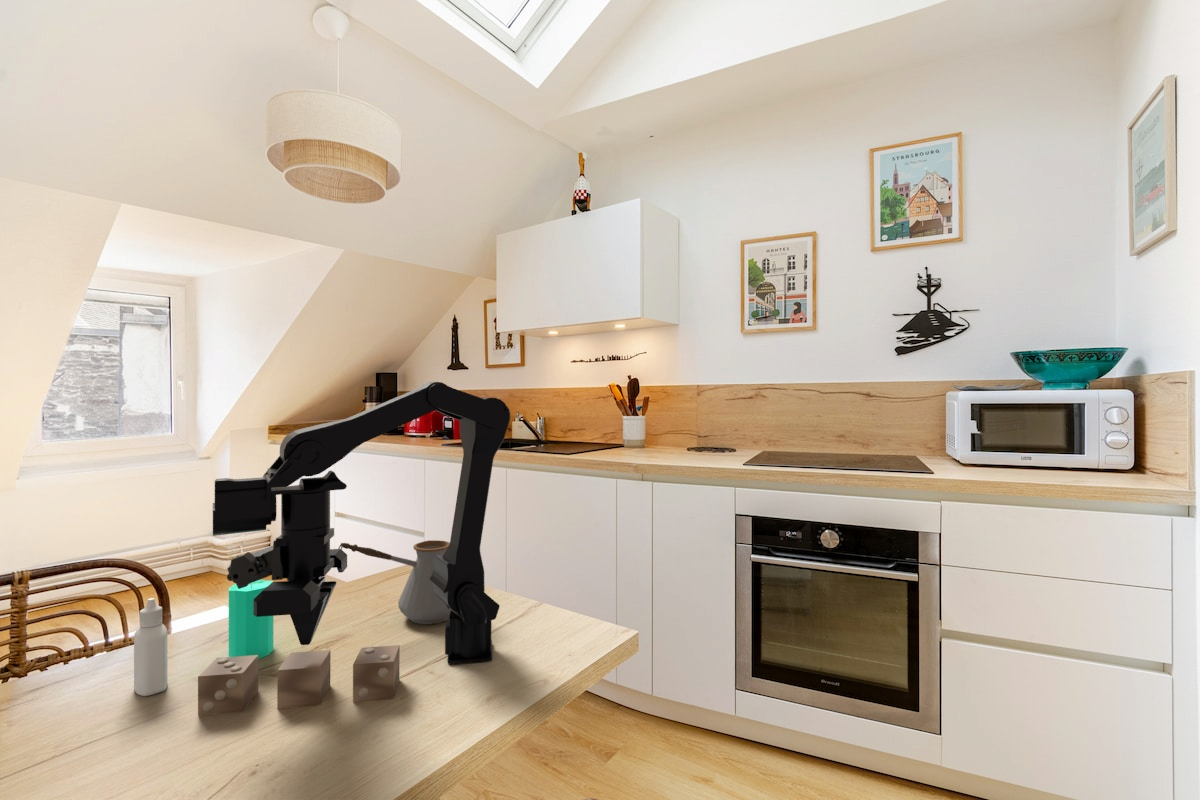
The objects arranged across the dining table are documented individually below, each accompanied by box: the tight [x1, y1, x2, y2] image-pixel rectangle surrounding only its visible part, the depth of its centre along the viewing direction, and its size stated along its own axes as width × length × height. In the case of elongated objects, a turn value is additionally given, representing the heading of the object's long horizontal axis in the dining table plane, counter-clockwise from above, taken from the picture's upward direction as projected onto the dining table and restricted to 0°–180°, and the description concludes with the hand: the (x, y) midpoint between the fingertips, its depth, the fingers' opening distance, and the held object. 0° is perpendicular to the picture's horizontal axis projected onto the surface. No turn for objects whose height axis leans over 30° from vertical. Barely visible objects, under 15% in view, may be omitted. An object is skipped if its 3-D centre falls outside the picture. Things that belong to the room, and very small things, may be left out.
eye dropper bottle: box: [133, 597, 169, 697], centre depth 77 cm, size 4×6×12 cm
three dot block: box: [197, 655, 259, 717], centre depth 74 cm, size 5×5×5 cm
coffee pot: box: [337, 539, 452, 625], centre depth 101 cm, size 21×12×15 cm, turn 119°
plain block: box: [276, 649, 332, 710], centre depth 76 cm, size 5×5×5 cm
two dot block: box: [352, 644, 401, 703], centre depth 77 cm, size 5×5×5 cm
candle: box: [228, 579, 274, 660], centre depth 88 cm, size 6×6×12 cm
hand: (305, 643), depth 76 cm, fingers closed
